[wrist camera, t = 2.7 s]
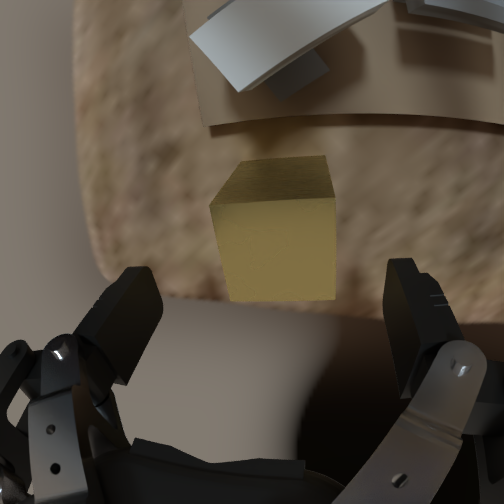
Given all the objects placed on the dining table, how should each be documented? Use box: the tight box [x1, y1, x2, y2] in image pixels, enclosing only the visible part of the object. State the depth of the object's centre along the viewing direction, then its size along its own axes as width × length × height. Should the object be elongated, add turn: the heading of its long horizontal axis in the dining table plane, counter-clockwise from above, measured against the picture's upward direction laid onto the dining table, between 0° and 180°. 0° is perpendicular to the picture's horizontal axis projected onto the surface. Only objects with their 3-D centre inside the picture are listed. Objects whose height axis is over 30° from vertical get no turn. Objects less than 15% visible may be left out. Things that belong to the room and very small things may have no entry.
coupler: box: [209, 155, 336, 301], centre depth 14 cm, size 4×4×6 cm
